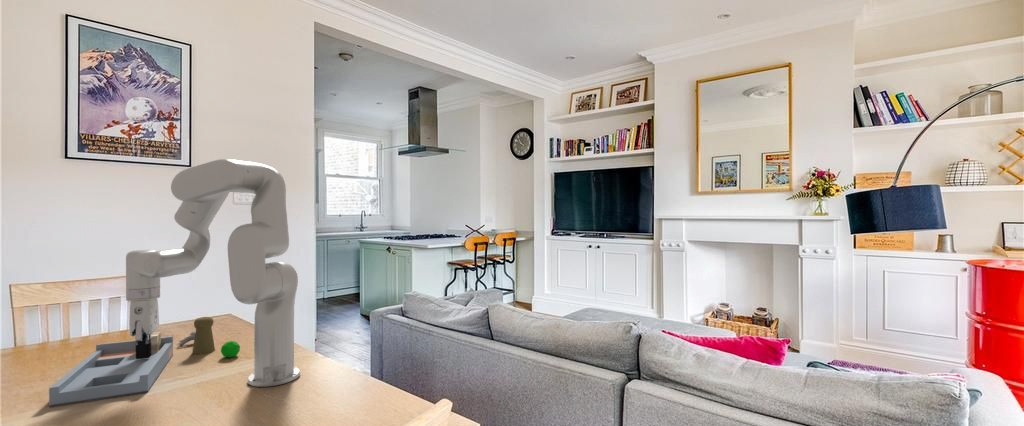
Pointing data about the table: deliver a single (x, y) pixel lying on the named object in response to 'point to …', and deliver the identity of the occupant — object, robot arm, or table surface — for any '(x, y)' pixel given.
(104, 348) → the box
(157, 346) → the maple block
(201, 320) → the cork
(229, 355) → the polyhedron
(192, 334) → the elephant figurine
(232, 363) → the table surface
